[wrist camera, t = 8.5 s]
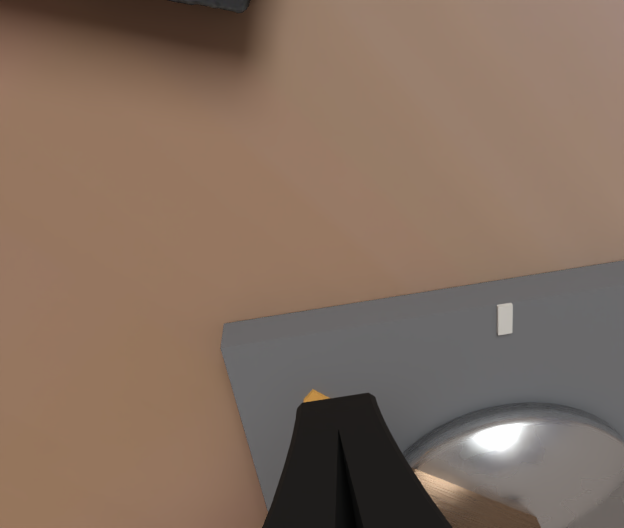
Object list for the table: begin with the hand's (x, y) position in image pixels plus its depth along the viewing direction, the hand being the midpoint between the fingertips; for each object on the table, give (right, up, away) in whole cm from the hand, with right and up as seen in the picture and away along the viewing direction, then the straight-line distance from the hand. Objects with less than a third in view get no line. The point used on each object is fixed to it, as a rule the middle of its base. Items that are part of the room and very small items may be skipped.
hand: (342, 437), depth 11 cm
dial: (+6, -6, +14) cm, 16 cm away
